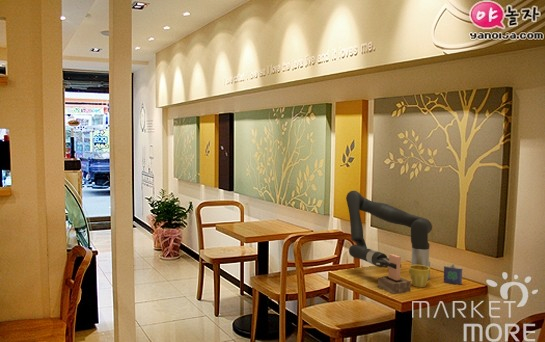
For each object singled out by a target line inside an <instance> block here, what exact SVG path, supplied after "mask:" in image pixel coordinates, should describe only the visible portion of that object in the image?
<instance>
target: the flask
mask: <svg viewBox="0 0 545 342" xmlns="http://www.w3.org/2000/svg"><path fill="white" fill-rule="evenodd" d="M443 283H444V284H450V285H458V286H462V284H463V268H462V267H459V266H458V267H457V266H456V264H455V263H452V264H451V265H449V264H447V265H444V267H443Z"/></svg>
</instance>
